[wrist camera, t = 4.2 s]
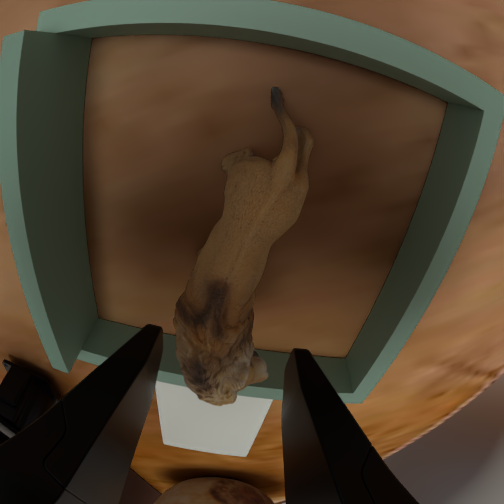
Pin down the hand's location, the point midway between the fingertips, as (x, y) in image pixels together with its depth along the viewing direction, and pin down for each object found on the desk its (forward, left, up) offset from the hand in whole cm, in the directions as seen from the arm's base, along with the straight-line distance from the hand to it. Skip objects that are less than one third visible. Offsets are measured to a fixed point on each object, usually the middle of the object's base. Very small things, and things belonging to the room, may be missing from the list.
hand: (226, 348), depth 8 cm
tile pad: (-19, 0, -8) cm, 21 cm away
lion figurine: (+1, 0, -8) cm, 8 cm away
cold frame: (0, 0, -8) cm, 8 cm away
